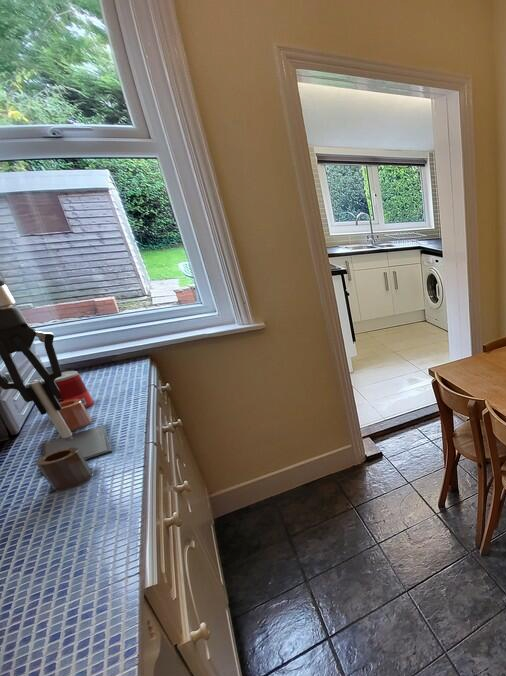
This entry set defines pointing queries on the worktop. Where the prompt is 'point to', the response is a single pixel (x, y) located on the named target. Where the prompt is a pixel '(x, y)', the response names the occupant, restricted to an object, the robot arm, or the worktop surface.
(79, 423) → the pen holder
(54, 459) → the stand
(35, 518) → the worktop surface
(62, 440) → the tablet
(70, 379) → the canned food
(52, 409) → the cream long square bar
